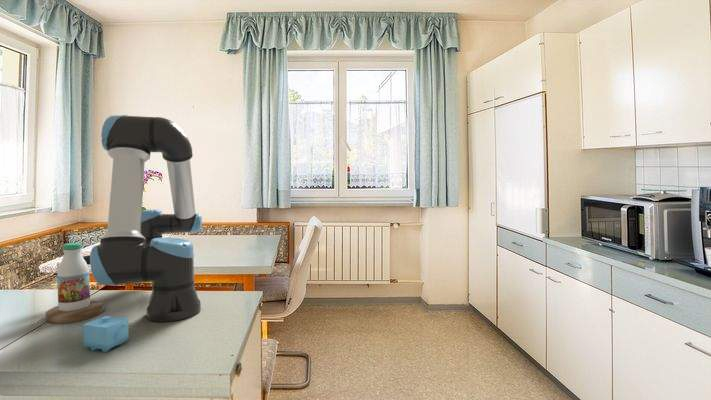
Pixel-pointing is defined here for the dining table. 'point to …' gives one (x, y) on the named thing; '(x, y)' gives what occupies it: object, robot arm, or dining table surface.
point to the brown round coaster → (74, 313)
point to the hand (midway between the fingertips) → (75, 268)
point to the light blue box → (105, 333)
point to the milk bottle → (73, 279)
